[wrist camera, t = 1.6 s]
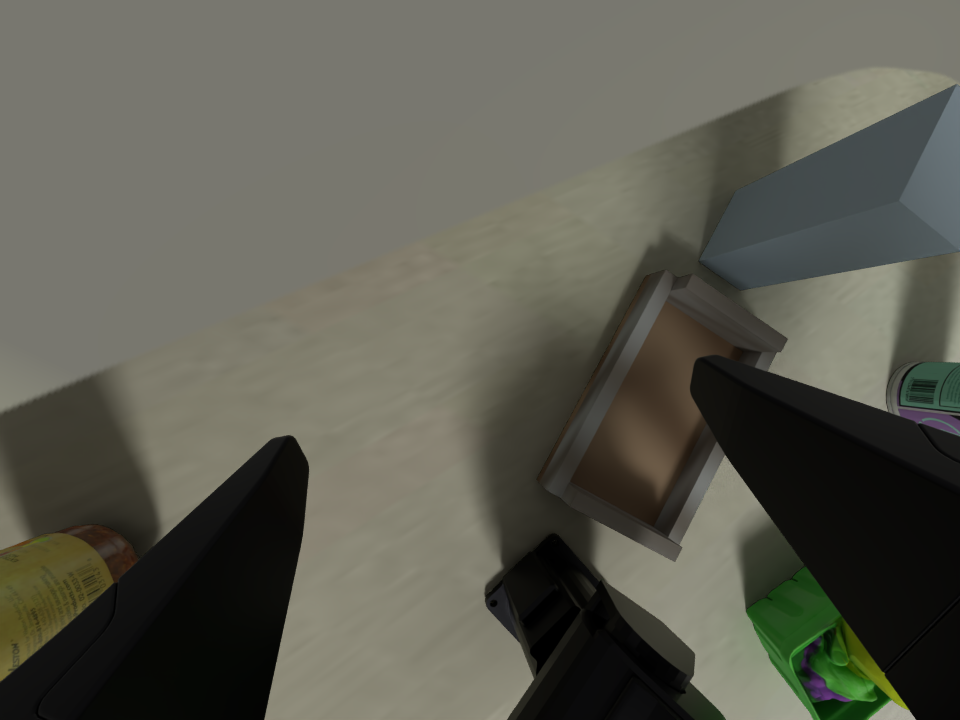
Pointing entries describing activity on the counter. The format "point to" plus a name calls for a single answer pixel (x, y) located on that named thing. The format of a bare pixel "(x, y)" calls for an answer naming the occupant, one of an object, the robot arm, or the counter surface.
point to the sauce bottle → (54, 585)
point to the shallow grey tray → (653, 412)
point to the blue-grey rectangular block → (849, 203)
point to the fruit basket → (819, 652)
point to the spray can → (927, 394)
